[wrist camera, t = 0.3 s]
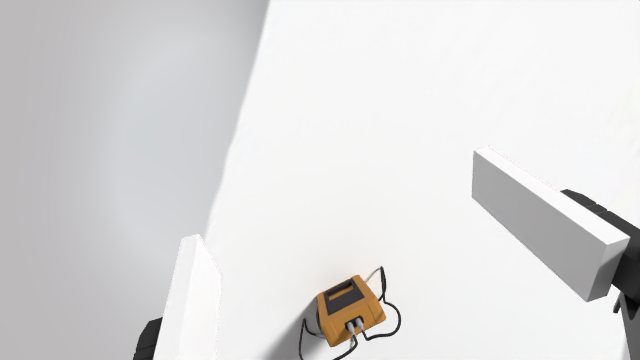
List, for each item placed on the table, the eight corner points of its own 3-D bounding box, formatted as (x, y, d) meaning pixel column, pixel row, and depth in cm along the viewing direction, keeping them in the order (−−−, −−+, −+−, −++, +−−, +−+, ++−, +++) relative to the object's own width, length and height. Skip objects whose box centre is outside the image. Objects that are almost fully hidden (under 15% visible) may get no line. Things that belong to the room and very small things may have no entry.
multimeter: (322, 366, 49) (335, 476, 29) (294, 305, 50) (287, 373, 30) (408, 321, 51) (476, 398, 31) (379, 262, 51) (428, 299, 31)
